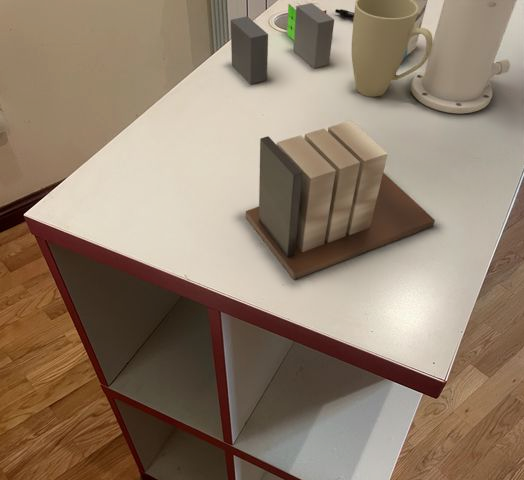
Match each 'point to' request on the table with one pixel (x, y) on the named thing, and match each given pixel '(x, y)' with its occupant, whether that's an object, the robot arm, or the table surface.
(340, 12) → the pen
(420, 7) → the ink box
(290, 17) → the green boxy piece
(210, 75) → the table surface
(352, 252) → the bookend with books
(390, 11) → the mug
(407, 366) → the table surface
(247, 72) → the grey bookends
